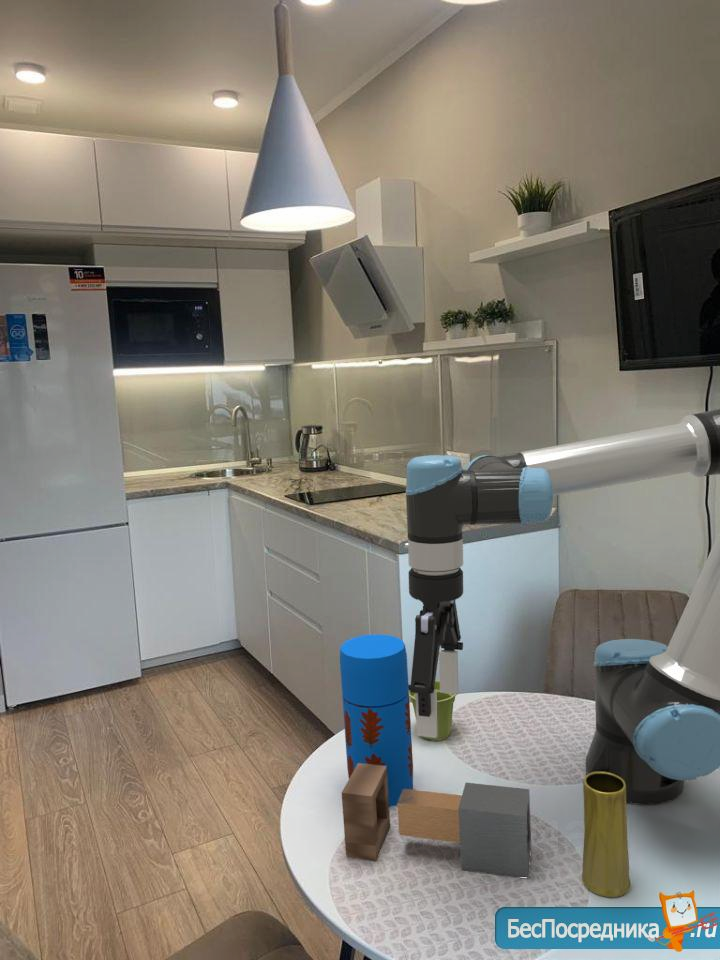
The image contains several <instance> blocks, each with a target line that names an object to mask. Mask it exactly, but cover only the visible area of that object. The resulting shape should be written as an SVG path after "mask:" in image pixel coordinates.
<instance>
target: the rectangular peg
mask: <svg viewBox="0 0 720 960" xmlns="http://www.w3.org/2000/svg"><path fill="white" fill-rule="evenodd" d="M461 797H462V794H453V793H444V792H435V791H427V790H426V791H425V790H419V789H413V790H411V789H403V791H402V793H401V795H400V798H399V800H398V802H397V805H396V806H397V820H398V822H397V823H398V835H399V836H403V837H411V838H416V839H417V838H419V839H426V840H433V841H441V842H448V843H457V844H460V832H459V811H458V808H459V804H460V801H461ZM527 837H528V828H527Z"/></svg>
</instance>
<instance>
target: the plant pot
mask: <svg viewBox="0 0 720 960" xmlns="http://www.w3.org/2000/svg"><path fill="white" fill-rule="evenodd" d="M434 687H435V689H437V730H438V736H437V738H431V737H424V736H420V737H421V738H422V739H424V740H426V739H427V740H430V741H433V742H434V741H442V740H445V739H447V738H448V737H449V736H450V735H451V733H452V722H453V713H454V712H453V711H454V703H455V701H456V697H457V695H458V694H448V693H440V680H435V686H434ZM408 691H409V690H408ZM409 700H410V702H411V704H412V707H413V711H414V716H415V718H416V696H415V693H412V692H411V691H409Z"/></svg>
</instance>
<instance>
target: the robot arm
mask: <svg viewBox="0 0 720 960" xmlns="http://www.w3.org/2000/svg"><path fill="white" fill-rule="evenodd" d="M686 473H689V474H691V475H693V476H694V477H697V478H701V477H706V476H707V477H708V476H715V475H720V408H717V409H715V408H714V409H712V410H707V411H703V412H699V413H693V414H689V415H688V414H687V415H685V416H684V417H683V418H682V419H681V421H680V423H676V424H670V425H665V426H659V427H653V428H649V429H643V430H637V431H631V432H626V433H619V434H615V435H608V436H604V437H597V438H592V439H587V440H586V439H585V440H580V441H575V442H574V441H573V442H571V443H570V442H569V443H563V444H558V445H553V446H548V447H542V448H537V449H531V450H525V451H520V452H516V453H509V454H504V455H497V456H496V455H492V454H485V455H479V456H477V457H475V458H473V459H472V460H470V461H469V463H468V464H467V465H466V467H465V469H463V465H462V461H461V459H460V458H459V457H457V456H454V455H447V454H446V455H437V454H436V455H435V454H433V455H423V456H422V455H421V456H415V457H413V458H411V459H410V460H409V461H408V463H407V466H406V475H405V476H406V477H405V478H406V481H405V482H406V483H405V485H406V486H405V499H406V500H405V501H406V502H405V503H406V504H405V505H406V522H407V523H406V527H407V528H406V529H407V542H406V543H405V544H404V549H405V550H407V551H408V556H407V558H408V566H409V567H410V569H409V571H408V593H409V595H410V597H411V598H412V599H413V600H414V599H415V600H418V601H420V602H421V603H422V604H423V605H422V610H420V611H419V614H416V616H415V619H414V621H415V624H414V625H415V628H414V629H415V634H414V644H413V645H414V647H413V655H412V667H411V676H410V677H411V678H410V684H408V685H409V691H411V692H412V693H415V696H416V717H415V722H416V723H415V727H416V732H415V733H416V737H419V736H420V737H421V736H424V737H431V738H437V736H438V730H437V689H435V687H434V686H435V681H436V678H437V670H438V669H439V670H438V673H439V681H440V693H448V694H457V695H458V694H459V652H458V651H463V648H464V642H463V641H462V642H460V641H461V639H462V635H461V629H460V624H459V617H458V610H457V604H456V600H458V599H460V598H461V597H462V596H463V594H464V571H463V570H462V568H461V567H463V565H464V541H463V526H474V525H475V526H476V525H478V526H479V525H507V524H509V525H510V524H511V525H513V524H514V525H515V524H516V525H517V524H518V525H519V524H520V525H521V524H522V525H527V524H533V523H543V522H545V521H546V522H547V520H548V519H550V516H551V514H552V511H553V507H554V505H553V504H554V497H555V496H560V495H565V494H572V493H577V492H582V491H589V490H594V489H600V488H605V487H610V486H618V485H621V484H622V485H623V484H629V483H633V482H642V481H645V480H646V481H647V480H651V479H658V478H664V477H669V476H674V475H681V474H686ZM713 543H714V544H713V545H712V547H711V550H710V552H709V554H708V557H707V558H706V559H705V560H706V561H705V563H704V565H703V567H702V570H701V572H700V574H699V576H698V579H697V580H696V583H695V584H694V587H693V589H692V592H691V594H690V597H689V599H688V601H687V603H686V606H685V607H684V609H683V612H682V614H681V617H680V619H679V621H678V623H677V625H676V628H675V629H674V632H673V635H672V637H671V639H670V640H669V643H668V645H666V644H664V643H662V642H658V641H655V640H648V639H641V638H624V639H623V638H622V639H621V638H620V639H612V640H608V641H605V642H602V643H600V644H599V645H598V646H597V647H596V649H595V650H594V662H593V663H592V664H593V666H594V693H595V694H594V695H595V696H594V699H595V701H594V702H595V704H594V705H595V732H594V734H593V736H592V740H591V743H590V746H589V747H588V748H589V749H588V752H587V753H586V757H585V763H584V764H585V776H586V775H587V774H589V773H592V772H597V771H603V772H609V773H613V774H615V775H617V776H619V777H621V778H622V779H623V780H624V781H625V784H626V804H627V803H628V804H635V805H646V806H647V805H660V804H664V803H668V802H671V801H674V800H675V799H676V798H678V797H679V796H680V795H681V794H682V793H683V791H684V788H685V781H693V780H696V779H697V778H699V777H706V776H708V775H710V774H712V773H713V772H715V771H716V770H718V769H719V768H720V530H719V531H718V534H717V536H716V538H715V541H714V542H713ZM440 648H441V649H440ZM438 665H439V666H438ZM438 667H439V668H438Z"/></svg>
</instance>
